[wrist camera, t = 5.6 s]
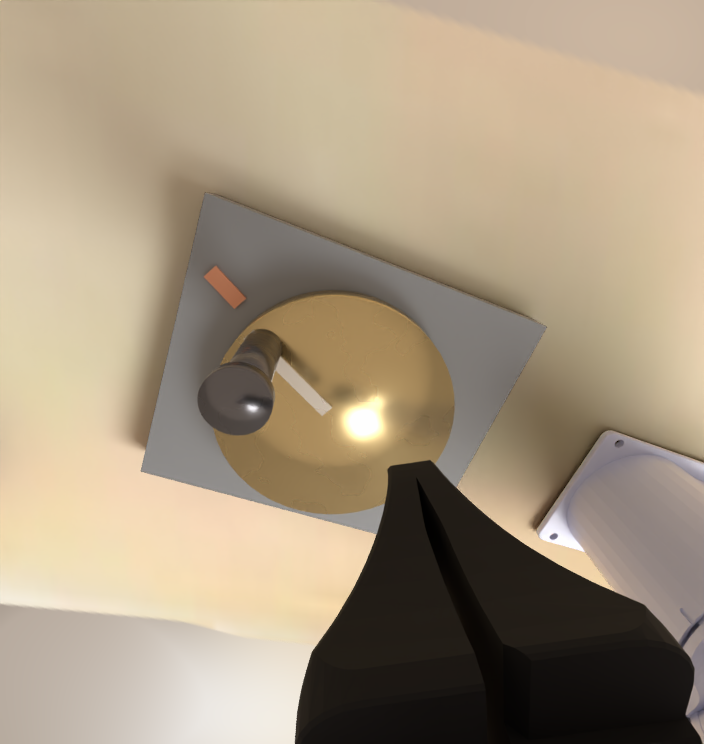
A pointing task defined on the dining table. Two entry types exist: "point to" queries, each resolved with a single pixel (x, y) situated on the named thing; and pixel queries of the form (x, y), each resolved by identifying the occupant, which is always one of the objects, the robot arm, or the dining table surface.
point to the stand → (299, 276)
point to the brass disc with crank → (328, 401)
